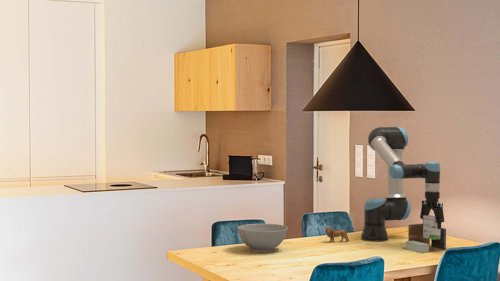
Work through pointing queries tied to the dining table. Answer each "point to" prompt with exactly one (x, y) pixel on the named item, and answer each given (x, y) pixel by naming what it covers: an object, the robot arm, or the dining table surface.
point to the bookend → (440, 240)
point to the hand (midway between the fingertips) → (431, 233)
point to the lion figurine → (335, 234)
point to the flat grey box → (417, 246)
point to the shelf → (419, 236)
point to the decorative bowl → (262, 236)
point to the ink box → (429, 227)
